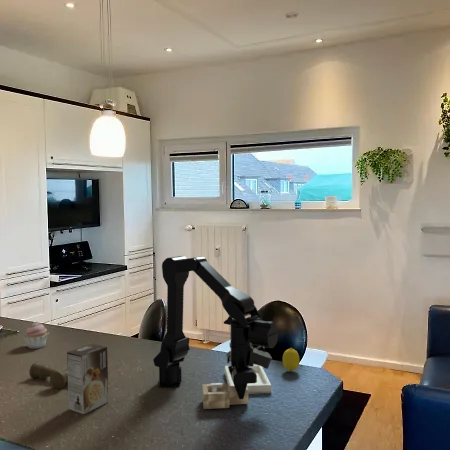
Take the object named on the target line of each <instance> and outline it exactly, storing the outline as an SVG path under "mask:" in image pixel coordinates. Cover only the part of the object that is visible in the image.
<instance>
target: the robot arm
mask: <svg viewBox="0 0 450 450" xmlns="http://www.w3.org/2000/svg"><path fill="white" fill-rule="evenodd" d="M161 272H162V278H163V280H164V282H165V284H166V286H167V293H166V295H167V296H166V332H165V334H164V336H163V339H162V340H161V345H160V349H159V353H157V355H156V356H155V357H154V358H153V364H154V367H156V368H157V367H158V388H168V387H171V388H173V387H180V386H181V383H182V382H183V381H182V366H180V363H181V362H184V361H185V358H186V356H187V355H188V353H189V351H190V341H191V340H190V337H188V336H186V335H185V333H184V331H183V329H184V325H183V324H184V297H185V296H184V293H185V292H184V291H185V290H184V288H185V284H186V282H187V280H188V278H189V277H190V272H194V274H196V275H197V277H198V278H200V280H202V282H204V283H205V285H206V286H207V287H208V288H210V290H211V291H212V292H213V293H214V294H215V295H216V296H217V297H218V298H219V300H220V301H221V305H222V308H223V310H225V312H226V313H227V315H228V317H227V319H225V320H223V324H225V325H228V326H230V327H229V328H230V329H229V330H230V331H229V332H230V342H229V348H230V350H229V351H228V352H227V353H226V355H225V356H226V363H227V364H230V365H227V366H228V368H229V371H230V374H231V378H232V381H233V383H234V386H235V389H236V391H237V394H238V397H239V399H243V398H244V395H245V391H246V387H247V384H249V383H257V375H256V373H255V371H254V370H253V369H252V368H249V366H253V365H259V366H262V368H263V369H266V370H267V369H269V367H270V364H271V363H272V362H271V361H272V359H273V357H272V356H271V354H270V353H269V352H267V351H266V348H269V349H273V348H275V347H276V345H277V343H278V340H279V339H278V338H279V332H278V330H277V329H278V328H276V326H275V322H274V321H265V320H263V317H262V315H261V313H260V312H259V310H258V308H257V307H256V305H255V300H254V299H253V298H252V296H251V295H248V294H247V293H246V292H245V291H243V290H240V289H238V288H235V287H234V286H232V285H231V283H229V282H228V281H227V280H226V279H225V278H224V277H223V275H221V274H220V273H219V272H218V270H216V269H215V268H214V267H213V266H212V265H211V263H209V262H208V260H207V258H206V257H204V256H196V257H190V258H188V257H186V256H184V255H179V256H178V255H177V256H171V257H166V258H165V259H164V260H162V263H161ZM247 316H248V317H247ZM253 345H255V346H256V347H253Z"/></svg>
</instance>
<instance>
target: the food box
mask: <svg viewBox="0 0 450 450" xmlns="http://www.w3.org/2000/svg"><path fill="white" fill-rule="evenodd" d="M66 354H67V355H66V357H67V360H66V361H67V362H66V363H67V369H68V381H67V390H68V392H67V393H68V395H67V396H68V410H70V411H73V412H76V413H78V414H82V415H85V414H88V413H89V412H91V411H93V410H95V409H97V408H100V407H101V406H103V405H106V404H108V403H109V366H108V365H109V364H108V363H109V361H108V346H106V345H105V346H104V345H101V344H95V343H90V344H86V345H84V346H81V347H78V348H75V349H72V350H69V351H67V352H66Z"/></svg>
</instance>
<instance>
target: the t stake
mask: <svg viewBox="0 0 450 450" xmlns="http://www.w3.org/2000/svg"><path fill="white" fill-rule="evenodd" d="M210 384H211V388H212V392H219V387H223V384H224V383H223V382H213V383H211V382H210Z"/></svg>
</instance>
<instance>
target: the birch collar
mask: <svg viewBox="0 0 450 450" xmlns="http://www.w3.org/2000/svg"><path fill="white" fill-rule="evenodd" d="M222 384H223V387H219V392H212V388H211V383H206V384H205V383H203V384H202V385H201V386H202V390H201V391H202V394H201V395H202V397H201V399H202V405H203V406H202V408H203V410H207V409H208V410H211V409H230V405H247V404H248V405H249V394H248V387H246V391H245V395H244V398H243V399H239V397H238V394H237V391H236V389H235V386H228V383H227V382H226V383H222Z"/></svg>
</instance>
